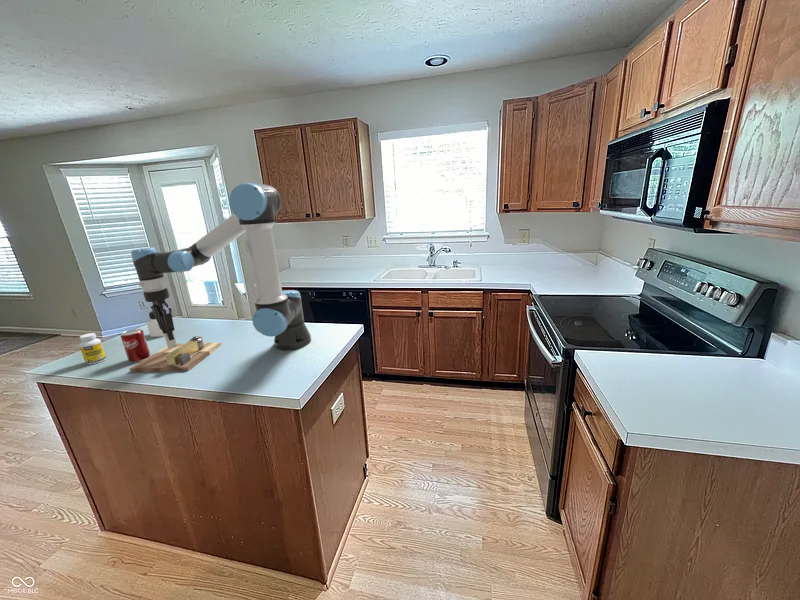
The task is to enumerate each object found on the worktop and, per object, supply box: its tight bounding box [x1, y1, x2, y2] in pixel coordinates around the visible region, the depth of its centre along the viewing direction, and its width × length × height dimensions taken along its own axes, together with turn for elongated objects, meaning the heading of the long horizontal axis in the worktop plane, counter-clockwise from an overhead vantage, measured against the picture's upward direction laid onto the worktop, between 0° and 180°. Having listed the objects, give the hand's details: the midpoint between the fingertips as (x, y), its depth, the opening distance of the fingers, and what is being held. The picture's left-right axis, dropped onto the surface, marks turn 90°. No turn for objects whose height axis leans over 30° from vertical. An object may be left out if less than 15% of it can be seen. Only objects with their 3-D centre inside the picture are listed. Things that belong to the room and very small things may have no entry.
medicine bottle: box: [146, 310, 175, 338], centre depth 161 cm, size 7×7×12 cm
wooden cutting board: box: [129, 342, 223, 373], centre depth 135 cm, size 23×22×4 cm
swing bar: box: [166, 336, 205, 365], centre depth 132 cm, size 17×4×5 cm, turn 176°
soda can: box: [120, 328, 151, 364], centre depth 135 cm, size 7×7×12 cm
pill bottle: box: [79, 332, 107, 365], centre depth 135 cm, size 6×6×12 cm
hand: (172, 346), depth 131 cm, fingers closed
